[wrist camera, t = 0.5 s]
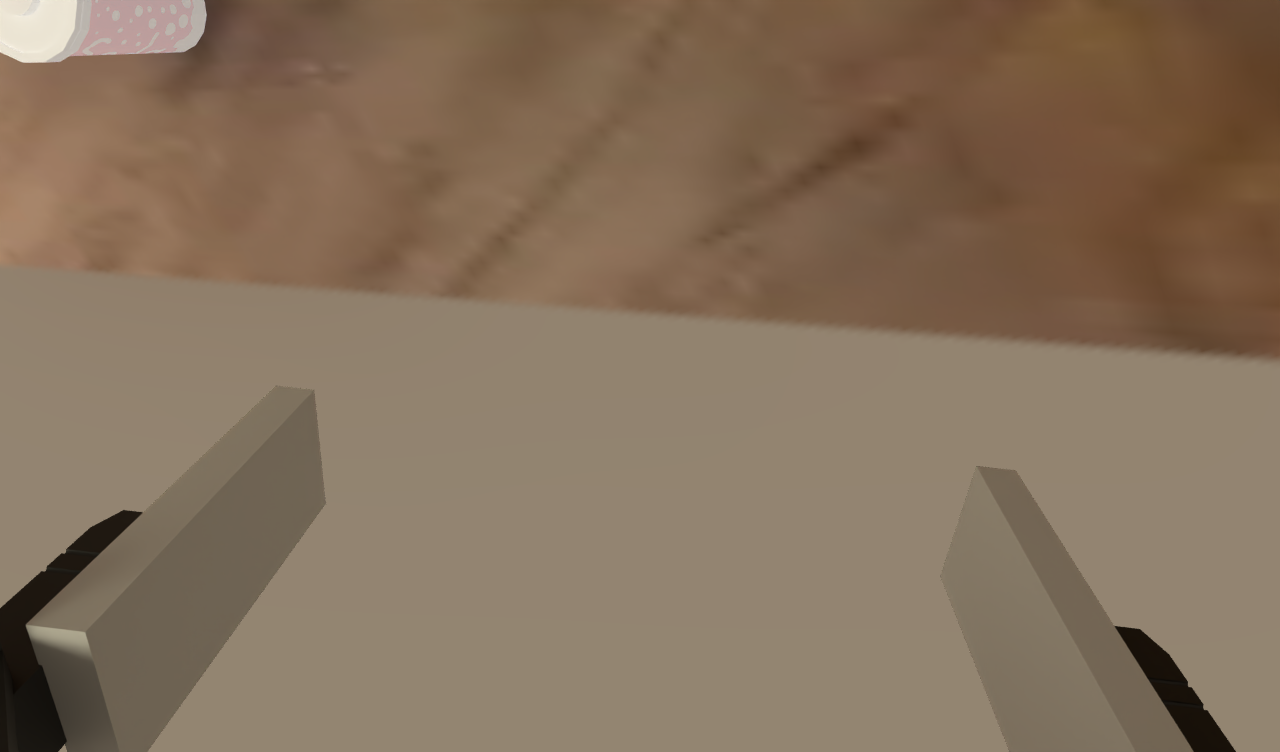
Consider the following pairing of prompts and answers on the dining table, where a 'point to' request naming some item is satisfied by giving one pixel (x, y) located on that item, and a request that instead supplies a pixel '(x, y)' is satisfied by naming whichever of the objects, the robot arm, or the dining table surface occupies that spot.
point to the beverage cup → (98, 27)
